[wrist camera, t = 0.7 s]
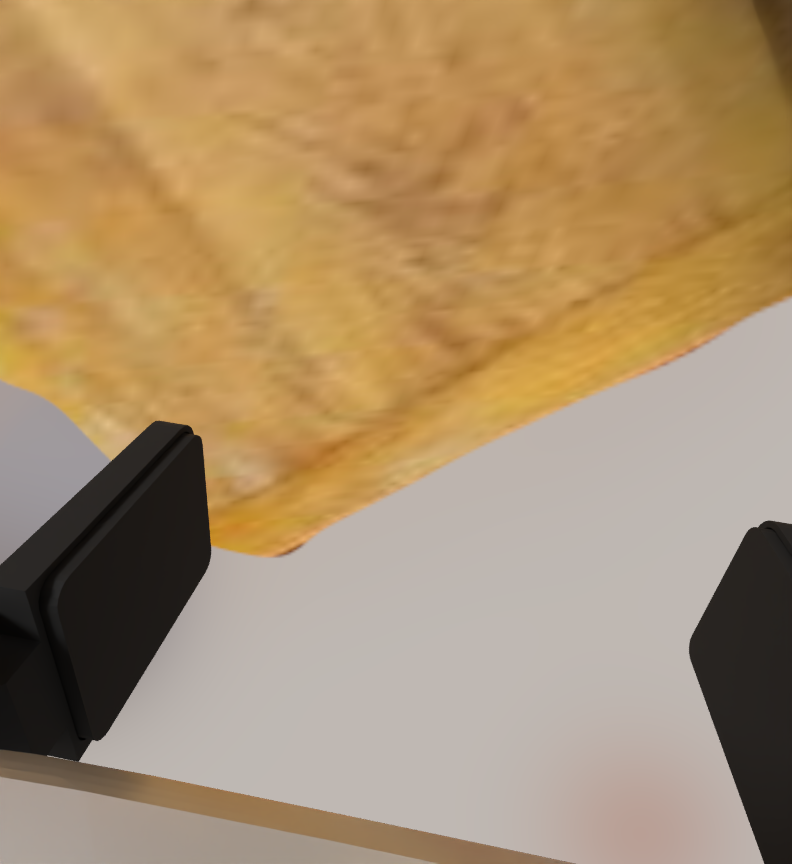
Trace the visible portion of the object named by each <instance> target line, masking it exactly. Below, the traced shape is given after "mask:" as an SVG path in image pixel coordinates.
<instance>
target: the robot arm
mask: <svg viewBox="0 0 792 864" xmlns="http://www.w3.org/2000/svg"><path fill="white" fill-rule="evenodd" d="M210 558H211V542H210V529H209V517H208V505H207V493H206V481H205V468H204V456H203V444H202V439H201V437H200V436H198V435H194V433H193V430H192V428H191V427H190V426H188V425H182V424H176V423H170V422H164V421H155V422H153V423H152V424H151V425H150V426H149V427H147V428H146V429H145V430H144V431H143V432H142V433H141V434H140V435H139V436H138V437H137V438H136V439H135V440H134V441H133V442H131V443H130V444H129V445H128V446H127V447H126V448H125V449H124V450H123V451H122V452H121V453H120V454H119V455H118V456H117V457H115V458H114V459H113V460H112V461H111V462H110V463H109V464H108V465H107V466H106V467H105V468H104V469H103V470H102V471H100V473H98V474H97V475H96V476H95V477H94V478H93V479H92V480H91V481H90V482H89V483H88V484H87V485H86V486H84V487H83V488H82V489H81V490H80V491H79V492H78V493H77V494H76V495H75V496H74V497H73V498H72V499H71V500H70V501H68V502H67V503H66V504H65V505H64V506H63V507H62V508H61V509H60V510H59V511H58V512H57V513H56V514H55V515H54V516H52V517H51V518H50V519H49V520H48V521H47V522H46V523H45V524H44V525H43V526H42V527H41V528H40V529H39V530H37V532H35V533H34V534H33V535H32V536H31V537H30V538H29V539H28V540H27V541H26V542H25V543H24V544H23V545H21V546H20V548H18V549H17V550H16V551H15V552H14V553H13V554H12V555H11V556H10V557H9V558H8V559H7V560H5V561H4V562H3V563H2V564H1V565H0V864H575V863H570V862H565V861H560V860H555V859H551V858H546V857H541V856H537V855H531V854H527V853H522V852H518V851H513V850H508V849H503V848H499V847H494V846H489V845H484V844H479V843H475V842H470V841H465V840H460V839H456V838H451V837H447V836H442V835H437V834H432V833H428V832H423V831H418V830H413V829H408V828H403V827H398V826H394V825H389V824H385V823H380V822H374V821H370V820H366V819H361V818H356V817H351V816H346V815H341V814H336V813H332V812H327V811H322V810H317V809H312V808H307V807H303V806H297V805H292V804H288V803H283V802H278V801H273V800H268V799H263V798H259V797H254V796H249V795H244V794H239V793H234V792H229V791H224V790H220V789H214V788H209V787H204V786H199V785H195V784H190V783H185V782H180V781H176V780H171V779H166V778H161V777H156V776H151V775H145V774H140V773H135V772H129V771H124V770H119V769H113V768H108V767H102V766H97V765H91V764H86V763H81V762H79V760H80V758H81V757H82V755H83V754H84V752H85V751H86V749H87V747H88V746H89V744H90V743H91V741H92V740H95V741H98V740H101V739H102V738H103V737H104V736H105V735H106V733H107V732H108V731H109V729H110V727H111V726H112V724H113V723H114V721H115V719H116V718H117V716H118V714H119V713H120V711H121V709H122V708H123V706H124V704H125V703H126V701H127V699H128V698H129V696H130V695H131V693H132V691H133V690H134V688H135V687H136V685H137V683H138V682H139V680H140V678H141V677H142V675H143V674H144V672H145V670H146V669H147V667H148V665H149V664H150V662H151V660H152V659H153V657H154V655H155V654H156V652H157V651H158V649H159V647H160V646H161V644H162V642H163V641H164V639H165V638H166V636H167V634H168V633H169V631H170V629H171V628H172V626H173V624H174V623H175V621H176V620H177V618H178V616H179V615H180V613H181V611H182V610H183V608H184V606H185V605H186V603H187V602H188V600H189V598H190V597H191V595H192V593H193V592H194V590H195V588H196V587H197V585H198V583H199V582H200V580H201V579H202V577H203V575H204V574H205V572H206V570H207V568H208V565H209V562H210ZM689 654H690V659H691V662H692V665H693V668H694V671H695V673H696V676H697V679H698V682H699V684H700V687H701V690H702V693H703V695H704V698H705V701H706V704H707V706H708V709H709V712H710V715H711V718H712V720H713V723H714V726H715V729H716V731H717V734H718V737H719V740H720V742H721V745H722V748H723V751H724V753H725V756H726V759H727V762H728V764H729V767H730V770H731V773H732V775H733V778H734V781H735V784H736V787H737V789H738V792H739V795H740V797H741V800H742V803H743V806H744V809H745V811H746V814H747V817H748V820H749V822H750V825H751V828H752V831H753V833H754V836H755V839H756V842H757V844H758V847H759V850H760V853H761V856H762V858H763V861H764V864H792V524H787V523H781V522H775V521H765V522H763V523H762V524H760V526H759V527H758V528H757V527H753V528H751V529H749V530H748V532H747V533H746V535H745V536H744V538H743V540H742V542H741V544H740V546H739V548H738V550H737V552H736V554H735V555H734V557H733V559H732V561H731V563H730V565H729V567H728V569H727V570H726V572H725V574H724V576H723V578H722V580H721V582H720V584H719V586H718V587H717V589H716V591H715V593H714V595H713V597H712V599H711V601H710V603H709V605H708V607H707V608H706V610H705V612H704V614H703V616H702V618H701V620H700V621H699V623H698V625H697V627H696V629H695V631H694V633H693V635H692V637H691V639H690V645H689ZM47 755H49V756H54V757H58V758H54V757H48V756H47ZM59 758H63V759H59ZM65 759H68V760H65ZM70 760H73V761H70ZM75 761H77V762H75Z"/></svg>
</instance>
